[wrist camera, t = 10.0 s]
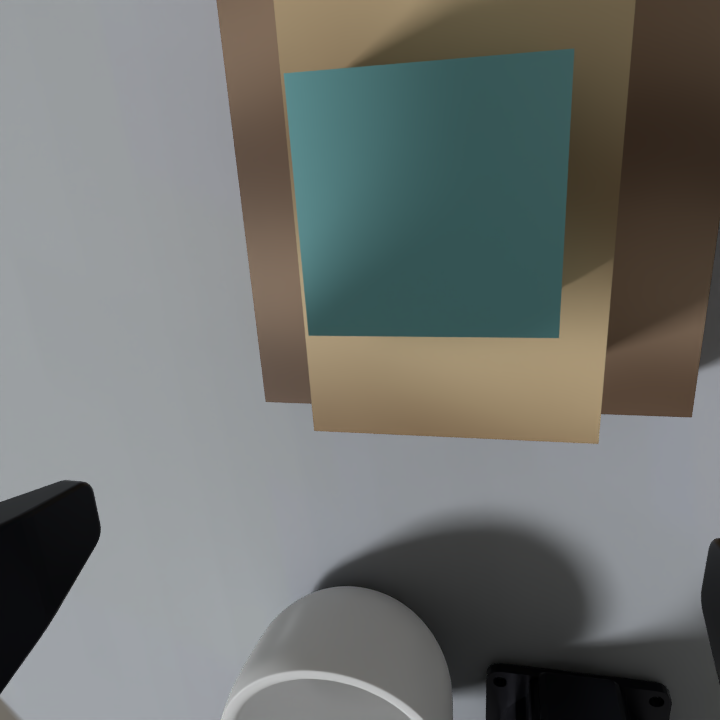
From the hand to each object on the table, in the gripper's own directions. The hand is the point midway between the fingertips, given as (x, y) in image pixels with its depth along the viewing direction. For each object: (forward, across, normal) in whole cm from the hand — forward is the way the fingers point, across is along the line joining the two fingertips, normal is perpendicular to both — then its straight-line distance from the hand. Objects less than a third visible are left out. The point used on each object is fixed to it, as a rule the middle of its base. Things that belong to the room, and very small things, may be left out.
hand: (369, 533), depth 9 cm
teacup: (+12, +4, +14) cm, 19 cm away
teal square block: (+5, -1, -4) cm, 6 cm away
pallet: (+9, -1, -4) cm, 10 cm away
